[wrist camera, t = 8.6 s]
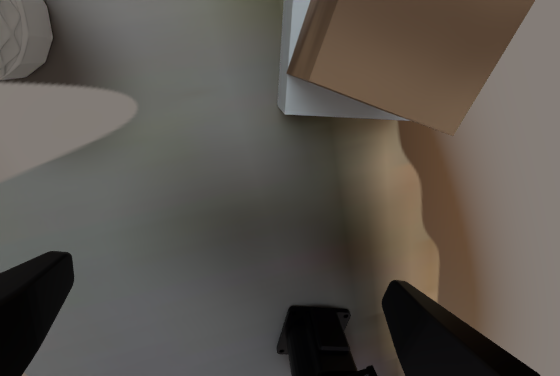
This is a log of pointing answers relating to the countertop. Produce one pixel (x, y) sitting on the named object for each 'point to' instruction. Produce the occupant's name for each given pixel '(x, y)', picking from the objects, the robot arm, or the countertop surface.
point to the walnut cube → (407, 53)
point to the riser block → (308, 96)
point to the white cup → (23, 37)
